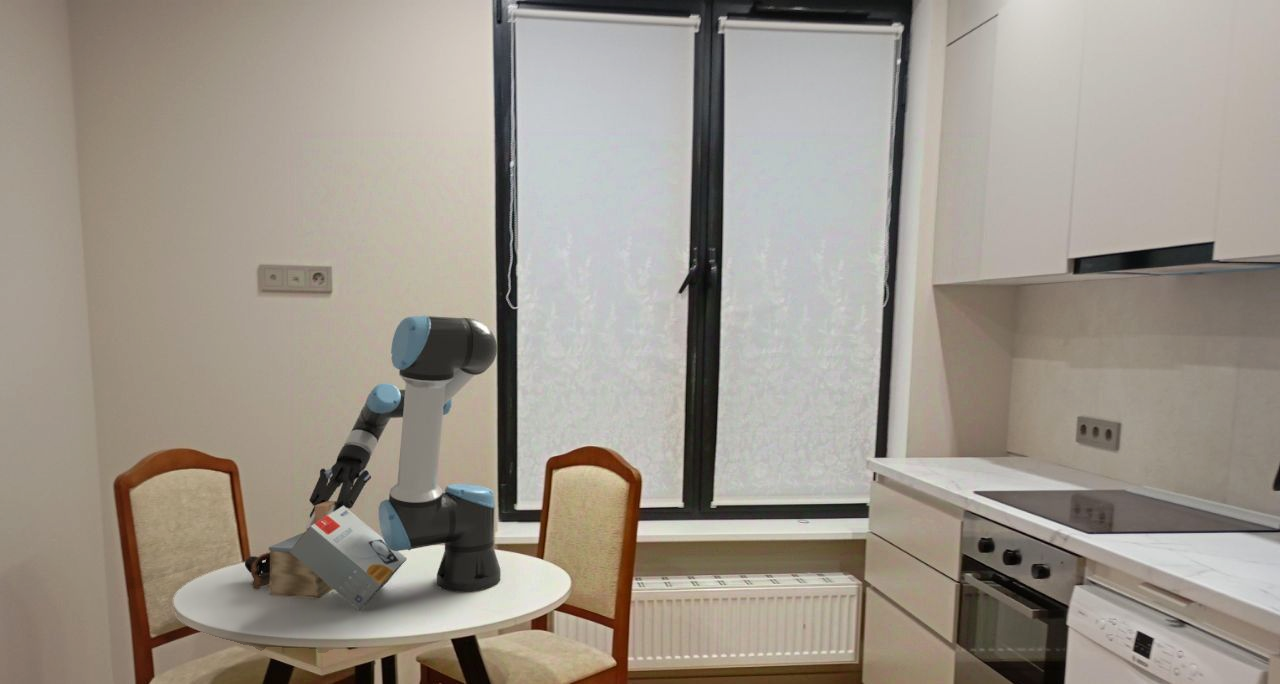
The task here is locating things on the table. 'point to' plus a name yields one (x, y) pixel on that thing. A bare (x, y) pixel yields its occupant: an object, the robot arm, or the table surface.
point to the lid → (288, 544)
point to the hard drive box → (348, 556)
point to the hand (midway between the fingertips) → (316, 531)
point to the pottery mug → (259, 569)
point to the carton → (294, 577)
